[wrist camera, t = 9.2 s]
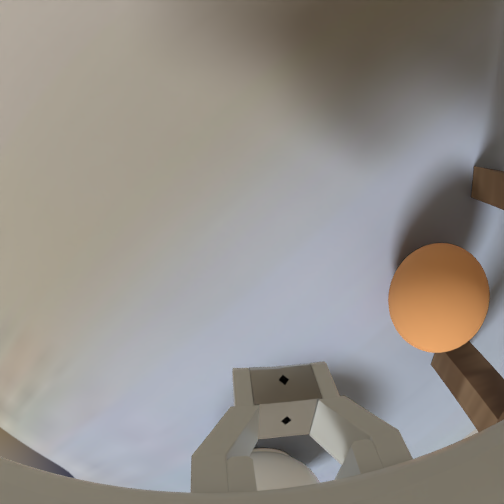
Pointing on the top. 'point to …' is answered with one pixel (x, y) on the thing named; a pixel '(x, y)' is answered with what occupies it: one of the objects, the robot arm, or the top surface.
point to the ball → (438, 297)
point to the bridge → (467, 356)
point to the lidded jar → (279, 470)
